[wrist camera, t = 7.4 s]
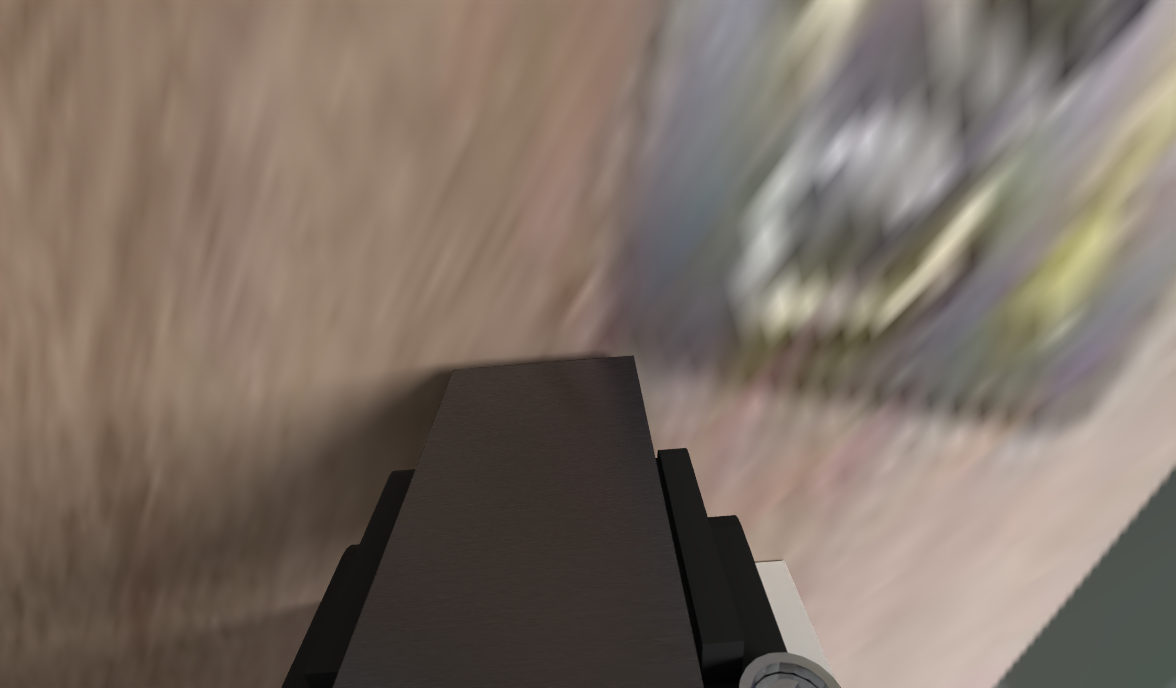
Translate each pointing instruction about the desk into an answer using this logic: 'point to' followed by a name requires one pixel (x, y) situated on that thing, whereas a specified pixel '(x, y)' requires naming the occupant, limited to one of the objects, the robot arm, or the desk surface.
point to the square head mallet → (530, 544)
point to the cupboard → (791, 613)
